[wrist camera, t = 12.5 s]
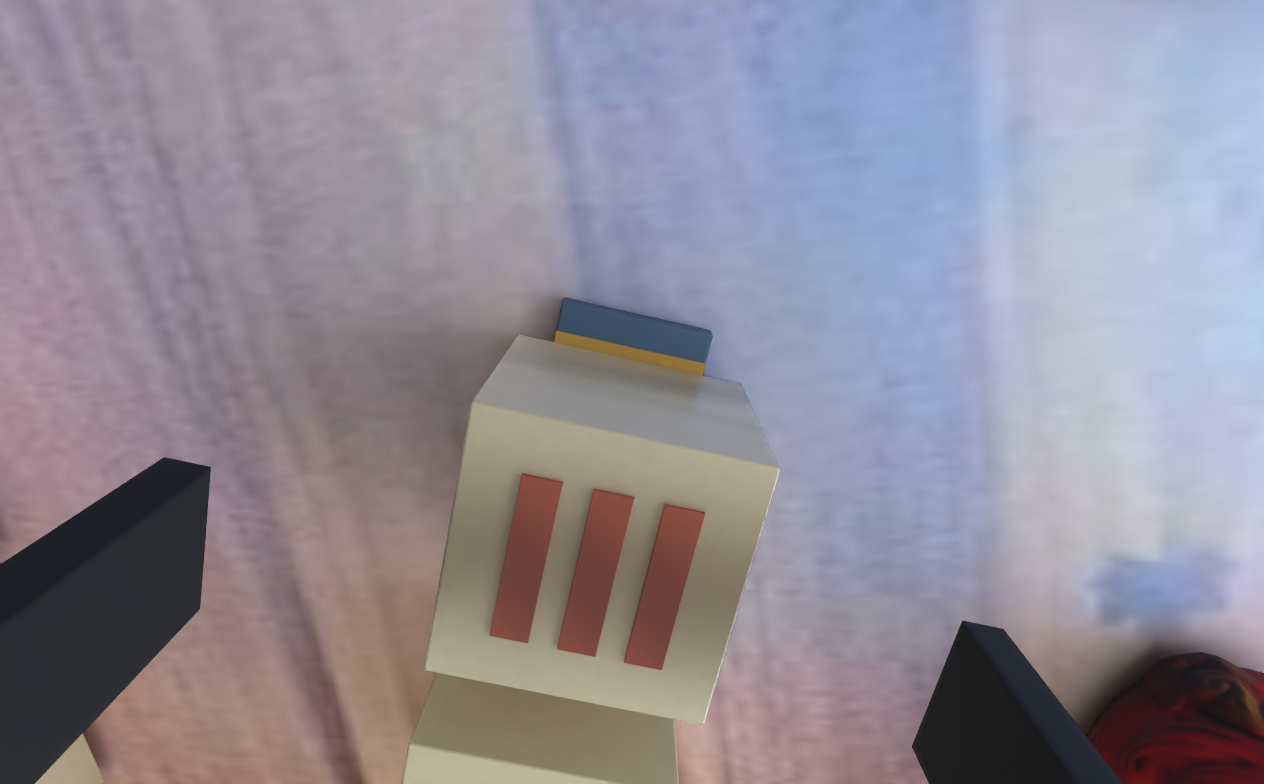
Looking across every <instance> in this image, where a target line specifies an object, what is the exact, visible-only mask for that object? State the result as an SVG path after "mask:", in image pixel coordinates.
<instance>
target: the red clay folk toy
mask: <svg viewBox="0 0 1264 784" xmlns="http://www.w3.org/2000/svg"><path fill="white" fill-rule="evenodd" d="M1087 738H1088V739H1089V741H1090V742H1091V743H1092V744H1093V746H1094V747H1095V748H1096V750H1097V751H1098V752H1099V754H1100V755H1101V756H1102V757H1103V759H1104V760H1105V761H1106V763H1107V764H1108V765H1109V766H1110V768H1111V769H1112V770H1113V772H1114V773H1115V774H1116V776H1117V777H1118V778H1119V779H1120V781H1121V782H1122V783H1123V784H1264V673H1260V672H1257V671H1254V670H1251V669H1246V668H1240V667H1237V666H1235V665H1233V664H1232V663H1230V662H1228V661H1226V660H1224V659H1222V658H1220V657H1218V656H1214V655H1210V654H1205V653H1201V652H1199V653H1189V654H1184V655H1179V656H1172V657H1168V658H1165V659H1161V660H1158V661H1157V662H1156V663H1155V664H1154V665H1153V666H1152V667H1151V668H1150V669H1149V670H1148V671H1147V672H1146V674H1145V676H1144V677H1143V678H1142V679H1141V681H1140V682H1138V683H1137V684H1135V685H1134V686H1132V687H1131V688H1130V689H1129V690H1127V691H1121V693H1120V694H1119V695H1118V696H1117V697H1116V698H1114V699H1113V700H1112V702H1111V704H1110V706H1109V707H1108V708H1107V709H1106V710H1104V712H1103V713H1102V714H1101V715H1099V717H1098V719H1097V720H1096V721H1095V722H1094V724H1093V726H1092V728H1091V730H1090V732H1089V734H1088V735H1087Z"/></svg>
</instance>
